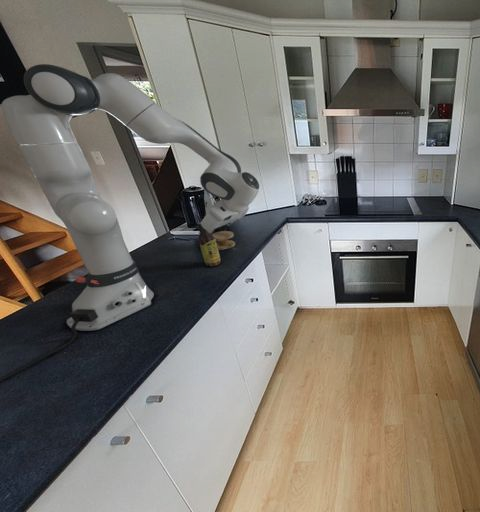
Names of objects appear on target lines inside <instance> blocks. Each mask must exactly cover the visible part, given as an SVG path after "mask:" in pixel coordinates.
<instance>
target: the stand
mask: <svg viewBox="0 0 480 512" xmlns="http://www.w3.org/2000/svg"><path fill="white" fill-rule="evenodd" d="M212 235H213V236H214V238H215V240H216V243H217V247H218V251H225V250H229V249H232V248H234V246H236V241H234V240H231V239H232V238H233V237H234V236H235V234H234V232H233V231H230V230H227V231H221V232H216V233H213V234H212Z"/></svg>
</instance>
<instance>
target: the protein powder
mask: <svg viewBox="0 0 480 512" xmlns="http://www.w3.org/2000/svg"><path fill="white" fill-rule="evenodd" d="M203 191H204V194H203V202H204V208H205V209H204V210H205V215H206V214H207V213H208V212H209V207H210V206H212V205H214V204H215V203H217V202H216V199H215V198H214V197H213V195H212V194H210V193H208V192H207V191H206V190H205V189H204V190H203ZM227 227H228V226H227V225H226V224H225V225H223V226H221V227H218V228H216V229H214V232H213V233H216V232H221V231H228V228H227ZM213 233H212V234H213Z"/></svg>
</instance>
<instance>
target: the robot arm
mask: <svg viewBox="0 0 480 512" xmlns="http://www.w3.org/2000/svg"><path fill="white" fill-rule="evenodd" d="M23 83H24V84H23V85H24V86H25V89H26V91H27V93H28V94H27V95H21V94H20V95H13V96H10V97H7V98H5V99H3V101H2V102H1V110H2V115H3V117H4V120H5V123H6V125H7V127H8V130H9V132H10V135H11V136H12V138H13V140H14V142H15V144H16V145H17V147H18V149H19V150H20V152H21V155H22V156H23V158H24V159H25V161H26V163H27V164H28V166H29V168H30V170H31V171H32V173H33V175H34V177H35V179H36V180H37V182H38V184H39V186H40V188H41V190H42V193H43V194H44V196H45V198H46V200H47V201H48V203H49V205H50V207H51V209H52V210H53V213H54V214H55V215H56V216H57V217H58V218H59V219H60V220H61V221H62V223H63V225H64V226H65V228H66V229H67V232H68V233H69V236H70V238H71V240H72V242H73V245H74V246H75V249H76V251H77V253H78V255H79V257H80V259H81V260H82V262H83V264H84V266H85V268H86V270H87V276H82V275H79V276H76V278H75V282H76V283H78V284H79V283H80V284H86V286H85V288H83V290H82V291H81V293H80V294H79V295H78V296H77V297H76V299H75V300H73V302H72V304H71V311H72V312H70V313H69V316H70V317H69V318H68V319H67V320H66V324H67V326H68V327H69V328H70V330H71V333H72V336H71V338H70V339H69V340H68V341H67V342H66V343H65V344H62V345H61V346H59V347H57V348H55V349H52V350H50V351H49V352H46V353H44V354H43V355H42V356H40V357H38V358H36V359H34V360H32V361H30V362H28V363H26V364H24V365H23V366H21V367H19V368H17V369H15V370H13V371H11V372H9V373H8V374H6V375H4V376H2V377H0V383H2V382H4V381H5V380H7V379H8V378H10V377H12V376H14V375H16V374H18V373H20V372H22V371H25V370H26V369H28V368H29V367H32V366H34V365H35V364H37V363H39V362H42V361H43V360H44V359H46V358H48V357H50V356H51V355H53V354H55V353H57V352H59V351H61V350H62V349H64V348H65V347H67V346H68V345H70V344H71V343H72V342H74V341H75V340H76V338H77V337H78V331H81V332H91V331H98V330H101V329H103V328H105V327H107V326H109V325H111V324H114V323H116V322H117V321H120V320H122V319H124V318H126V317H128V316H130V315H133V314H135V313H137V312H139V311H141V310H143V309H145V308H147V307H149V306H151V305H152V299H154V295H155V293H154V291H152V290H151V289H150V288H149V287H148V285H147V283H146V282H145V281H144V279H143V277H142V275H141V273H140V270H139V268H138V265H137V263H136V261H134V260H133V258H132V256H131V254H130V252H129V249H128V247H127V245H126V242H125V240H124V237H123V232H122V229H121V226H120V223H119V220H118V217H117V214H116V212H115V209H114V208H113V206H112V205H111V204H110V203H109V202H107V201H106V200H104V199H103V198H102V197H101V196H100V194H99V192H98V189H97V186H96V183H95V180H94V178H93V177H94V176H93V173H92V170H91V168H90V165H89V163H88V161H87V160H86V157H85V155H84V153H83V151H82V149H81V147H80V145H79V143H78V141H77V139H76V136H75V135H74V132H73V130H72V127H71V125H70V120H71V119H74V118H77V117H82V116H84V115H89V114H91V113H94V112H95V111H96V110H101V111H104V112H106V113H108V114H109V115H111V116H113V117H114V118H115V119H116V120H117V121H119V122H120V123H122V124H123V125H124V126H125V127H127V128H128V129H129V130H130V131H131V132H132V133H134V134H135V135H136V136H138V137H139V138H141V139H143V140H144V141H146V142H148V143H151V144H157V145H165V144H173V143H174V144H181V145H183V146H186V147H187V148H189V149H190V150H192V151H193V152H194V153H196V154H197V155H198V156H200V157H201V158H202V159H204V160H205V161H206V162H207V163H208V166H207V167H206V168H205V170H204V171H203V172H202V173H201V175H200V177H199V183H200V186H201V187H202V188H203V190H204V191H205V190H206V191H207V192H208V193H210V194H211V195H212V196H214V197H216V198H219V199H220V200H218V201H217V202H216V203H215V204H214V205H212V206H210V207H209V212H208V213H207V214H206V213H205V215H204V217H203V218H202V223H201V225H202V227H203V228H204V229H205V230H207V231H208V232H209V233H213V232H214V229H216V228H218V227H221V226H223V225H226V227H229V226H231V225H232V224H233V223H234V222H235V221H238V220H239V219H242V218H244V217H245V216H246V215H247V213H248V211H249V209H250V208H249V206H250V204H251V203H252V202H253V201H254V200H255V198H256V197H257V196H258V193H259V191H260V182H259V181H258V179H257V178H256V177H255V176H254V175H253V174H252V173H250V172H247V171H242V168H241V165H240V163H239V162H238V160H236V159H235V158H234V157H233V156H232V155H229V154H228V153H227V152H224V151H222V150H221V149H220V148H218V147H217V146H215V145H214V144H213V143H212V142H211V141H209V140H208V139H207V138H205V137H204V136H202V135H201V133H199V132H198V131H196V130H195V129H194V128H192V127H191V126H190V125H189V124H187V123H185V122H184V121H183V120H181V119H178V118H176V117H174V116H173V115H171V113H169V112H168V111H166V110H165V109H164V108H162V107H161V106H160V105H159V104H158V102H156V101H155V100H153V98H151V96H149V95H148V94H147V93H146V92H144V91H143V90H141V89H140V88H139V87H137V86H136V85H135V84H134V83H132V82H131V81H129V80H128V79H126V78H125V77H124V76H122V75H120V74H118V73H114V72H106V73H103V74H100V75H98V76H96V77H95V78H89V77H87V76H85V75H82V74H79V73H78V72H75V71H74V70H72V69H69V68H66V67H63V66H58V65H54V64H48V63H42V64H41V63H40V64H35V65H33V66H30V67H29V68H27V70H26V71H25V72H24V75H23Z"/></svg>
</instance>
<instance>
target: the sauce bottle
mask: <svg viewBox="0 0 480 512" xmlns="http://www.w3.org/2000/svg"><path fill="white" fill-rule="evenodd" d="M202 221H203V220H202ZM202 221H197V222H196V226H197V227H198V230H199V235H198V242H199V248H200V250H201V255H202V257H203V258H202V259H203V260H204V261H203V262H204V263H205V266H206V267H215V266H216V267H217V266H218V265H220V264H221V262H222V260H221V255H220V252H219V251H220V250H218V247H217V241H216V240H215V238H214V236H213V235H212V233H209V232H208V231H207V230H205V229H204V228H203V227H202V225H201V223H202Z"/></svg>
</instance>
